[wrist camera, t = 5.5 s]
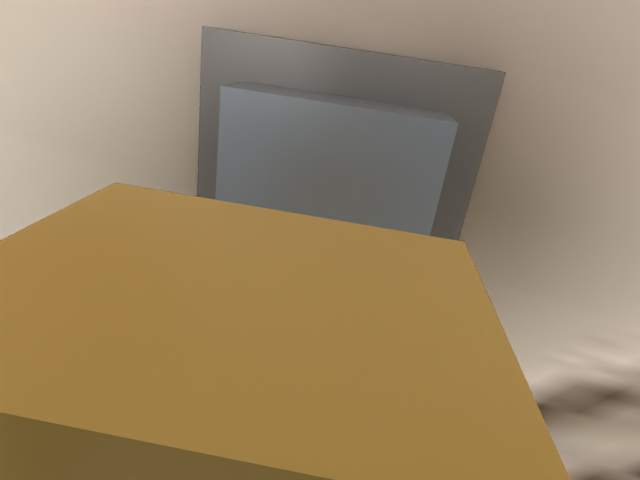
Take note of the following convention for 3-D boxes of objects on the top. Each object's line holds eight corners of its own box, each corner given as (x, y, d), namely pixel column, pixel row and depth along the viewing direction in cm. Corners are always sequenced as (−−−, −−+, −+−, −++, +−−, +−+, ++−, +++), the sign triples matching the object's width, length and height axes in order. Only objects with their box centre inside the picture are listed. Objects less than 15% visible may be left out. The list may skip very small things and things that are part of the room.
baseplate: (199, 280, 20) (170, 318, 17) (208, 27, 16) (172, 22, 13) (430, 323, 19) (439, 369, 16) (501, 71, 15) (528, 76, 12)
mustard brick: (127, 438, 9) (-71, 745, 5) (114, 182, 7) (-244, 362, 3) (392, 492, 9) (404, 864, 5) (464, 241, 7) (592, 532, 3)
